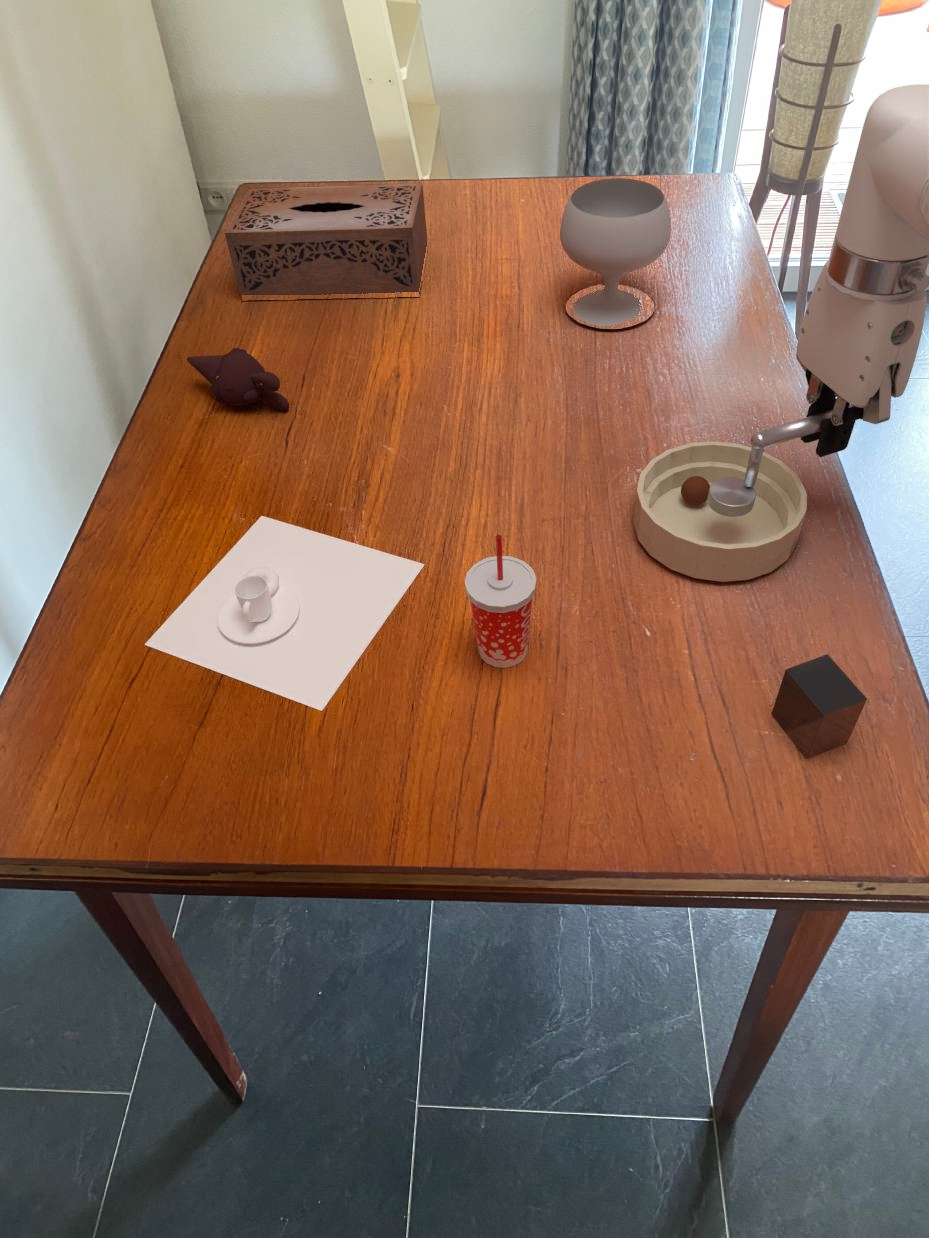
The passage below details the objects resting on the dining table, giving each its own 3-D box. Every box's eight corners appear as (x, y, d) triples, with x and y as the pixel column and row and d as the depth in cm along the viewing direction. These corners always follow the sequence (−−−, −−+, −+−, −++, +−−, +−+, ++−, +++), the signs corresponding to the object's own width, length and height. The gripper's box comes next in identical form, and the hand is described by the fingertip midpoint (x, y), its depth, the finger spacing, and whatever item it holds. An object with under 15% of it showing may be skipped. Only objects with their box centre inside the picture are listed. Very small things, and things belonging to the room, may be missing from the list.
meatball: (698, 489, 96) (702, 467, 94) (714, 506, 94) (718, 483, 92) (673, 497, 96) (677, 475, 94) (688, 514, 94) (692, 491, 92)
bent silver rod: (850, 447, 93) (871, 383, 87) (878, 472, 90) (902, 408, 84) (698, 494, 89) (710, 431, 83) (722, 522, 86) (736, 459, 81)
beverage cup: (506, 685, 81) (502, 574, 70) (456, 651, 84) (445, 540, 73) (549, 645, 84) (552, 533, 73) (500, 614, 87) (495, 502, 76)
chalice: (675, 329, 119) (689, 214, 108) (570, 342, 118) (574, 228, 107) (646, 278, 129) (656, 168, 117) (549, 290, 128) (550, 181, 117)
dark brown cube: (810, 698, 78) (827, 653, 74) (847, 742, 75) (867, 698, 70) (771, 713, 77) (785, 669, 73) (806, 759, 74) (823, 715, 70)
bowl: (738, 463, 100) (745, 426, 96) (829, 556, 89) (842, 518, 86) (606, 504, 96) (609, 467, 93) (685, 605, 86) (691, 568, 82)
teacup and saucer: (253, 572, 92) (244, 543, 89) (319, 594, 90) (312, 564, 87) (202, 632, 87) (190, 603, 84) (270, 656, 85) (261, 627, 82)
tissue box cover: (242, 301, 131) (224, 233, 123) (263, 254, 140) (248, 188, 133) (419, 297, 129) (412, 228, 121) (428, 250, 138) (422, 183, 131)
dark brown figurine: (158, 359, 109) (257, 399, 105) (195, 317, 112) (293, 355, 107) (180, 398, 115) (275, 437, 111) (214, 357, 118) (308, 394, 113)
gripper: (985, 295, 69) (910, 482, 83) (855, 213, 79) (806, 392, 93) (904, 317, 68) (841, 504, 82) (781, 232, 78) (743, 411, 92)
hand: (823, 444), depth 87 cm, fingers closed on bent silver rod
